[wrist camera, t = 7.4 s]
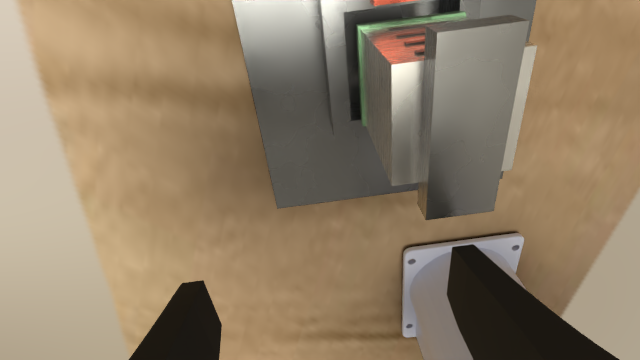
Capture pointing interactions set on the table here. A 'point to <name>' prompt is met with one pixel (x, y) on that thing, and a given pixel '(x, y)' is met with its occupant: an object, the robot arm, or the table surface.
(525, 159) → the table surface
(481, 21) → the grey block
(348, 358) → the table surface
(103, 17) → the table surface
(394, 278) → the table surface
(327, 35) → the stand
